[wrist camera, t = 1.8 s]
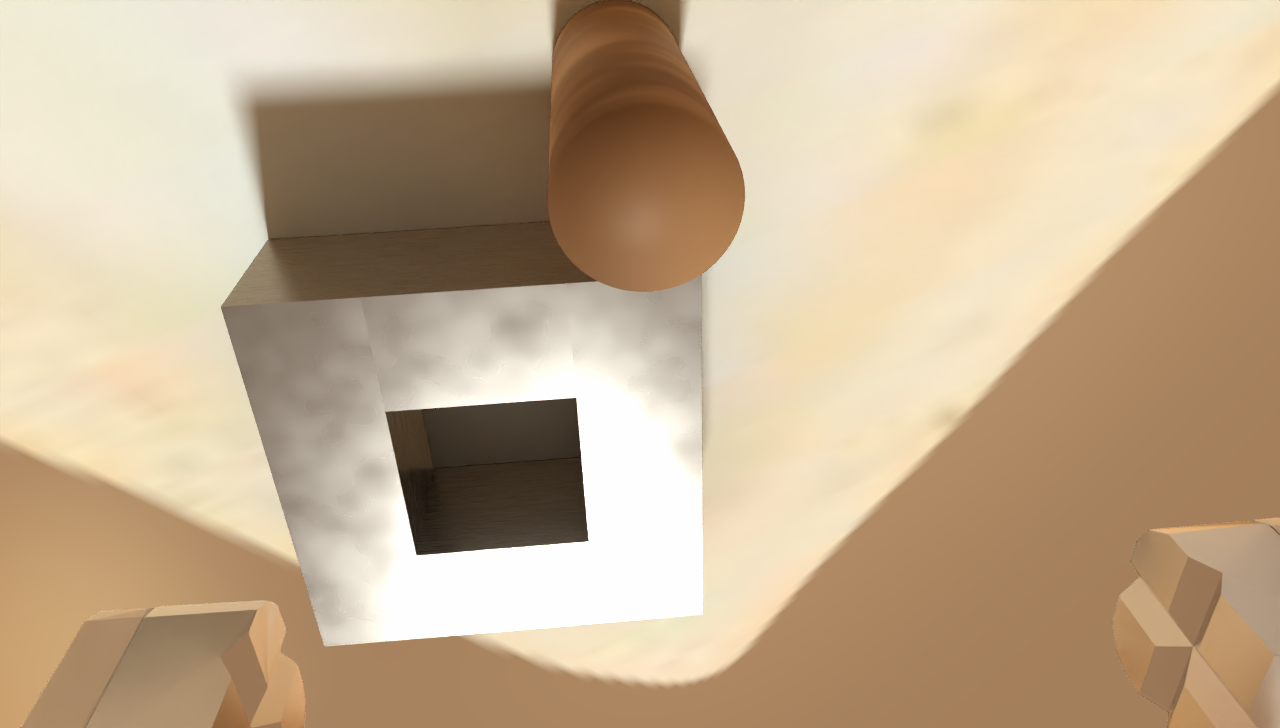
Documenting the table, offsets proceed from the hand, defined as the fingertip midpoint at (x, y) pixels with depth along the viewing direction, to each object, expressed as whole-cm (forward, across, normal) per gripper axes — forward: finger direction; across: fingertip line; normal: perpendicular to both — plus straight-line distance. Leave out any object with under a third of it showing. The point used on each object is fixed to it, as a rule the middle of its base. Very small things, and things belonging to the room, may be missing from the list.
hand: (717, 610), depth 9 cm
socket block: (+23, +5, +12) cm, 27 cm away
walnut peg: (+23, 0, 0) cm, 23 cm away
